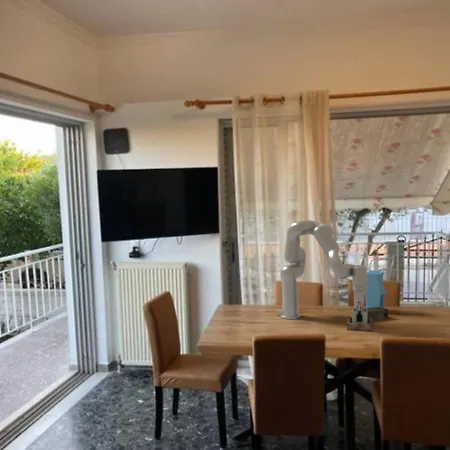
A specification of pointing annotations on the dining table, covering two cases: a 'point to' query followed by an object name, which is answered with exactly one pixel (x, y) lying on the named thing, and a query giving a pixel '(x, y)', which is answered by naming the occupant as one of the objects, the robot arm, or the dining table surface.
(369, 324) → the walnut crate
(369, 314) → the beverage carton
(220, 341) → the dining table surface
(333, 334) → the dining table surface
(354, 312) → the small crate
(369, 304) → the vase
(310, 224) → the robot arm
